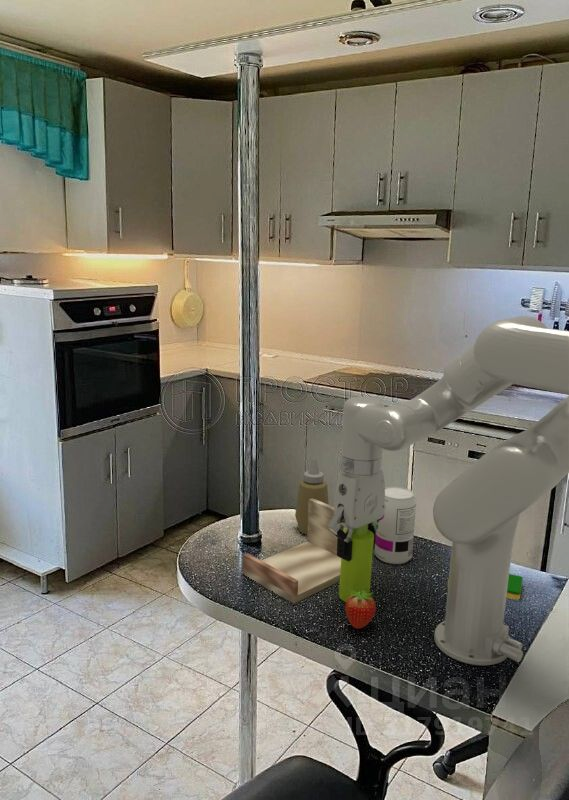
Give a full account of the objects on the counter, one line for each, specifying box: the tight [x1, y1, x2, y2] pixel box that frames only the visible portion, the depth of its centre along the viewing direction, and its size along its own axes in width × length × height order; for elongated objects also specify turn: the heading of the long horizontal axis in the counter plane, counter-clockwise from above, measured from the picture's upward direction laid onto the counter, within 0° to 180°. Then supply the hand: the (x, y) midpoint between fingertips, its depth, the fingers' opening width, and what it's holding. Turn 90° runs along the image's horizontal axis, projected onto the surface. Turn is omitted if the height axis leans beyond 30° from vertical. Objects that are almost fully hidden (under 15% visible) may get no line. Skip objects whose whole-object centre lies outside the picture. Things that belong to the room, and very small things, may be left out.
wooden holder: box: [242, 498, 347, 605], centre depth 136 cm, size 15×20×12 cm
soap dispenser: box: [338, 524, 374, 603], centre depth 127 cm, size 6×7×20 cm
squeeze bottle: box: [294, 457, 330, 536], centre depth 155 cm, size 8×8×18 cm
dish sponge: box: [447, 573, 524, 599], centre depth 133 cm, size 7×14×2 cm, turn 67°
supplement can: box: [373, 486, 417, 565], centre depth 143 cm, size 8×8×15 cm
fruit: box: [345, 588, 377, 630], centre depth 117 cm, size 5×5×8 cm
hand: (355, 552), depth 127 cm, fingers open, 6 cm apart
